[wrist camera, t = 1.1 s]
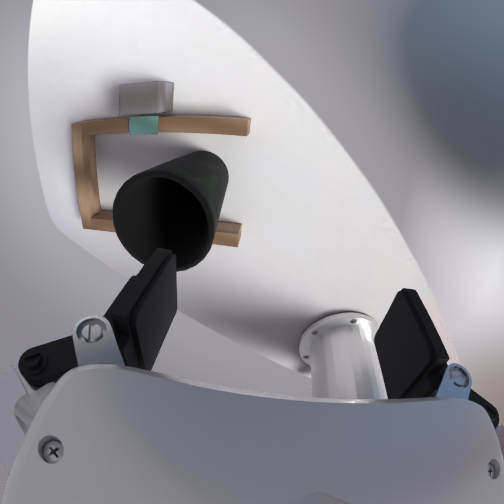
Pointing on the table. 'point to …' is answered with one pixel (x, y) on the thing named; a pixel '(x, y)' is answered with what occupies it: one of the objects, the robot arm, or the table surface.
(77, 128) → the beam slot
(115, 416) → the robot arm
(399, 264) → the table surface
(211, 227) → the cup
